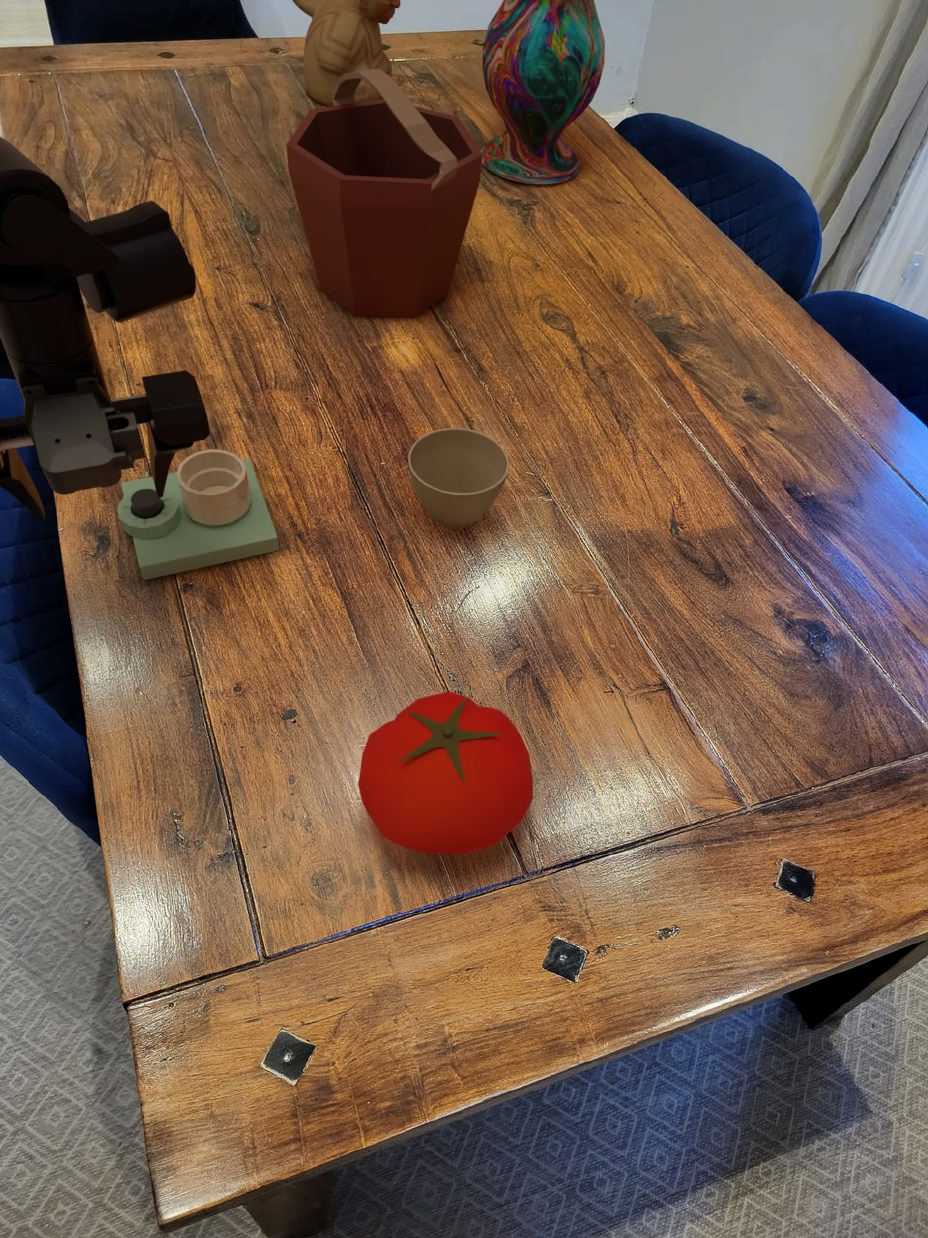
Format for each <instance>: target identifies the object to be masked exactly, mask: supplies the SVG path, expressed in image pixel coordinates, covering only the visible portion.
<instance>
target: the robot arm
mask: <svg viewBox="0 0 928 1238" xmlns="http://www.w3.org/2000/svg"><path fill="white" fill-rule="evenodd" d="M196 291H197V279H196V272H195V269H194V267H193V265H192V264H191V263H190V261H189V258H188V255H187V252H186V251H185V248H184V246H183V244H182V242H181V239H180V238H179V237H178V235H177V233H176V231H175V230H174V229H173V228H172V223H171V217H170V213H169V212H168V211H167V210H166V209H164V208H163V207H162V206H161V205H159V204H158V203H156V202H155V201H154V200H147V201H145V202H141V203H138V204H135V205H134V206H132V207H130V208H129V209H125V210H123V211H120V212H117V213H113V214H109V215H106V216H103V217H98V218H95V219H92V220H91V219H90V220H89V221H85V220H84V219H83V218H81V216H79V214H77V213H76V212H75V211H73V209H71V208H70V206H69V200H68V199H67V197H66V195H65V193H64V192H63V189H62V188H61V187H60V186H59V185H58V183H56V181H54V180H53V179H52V178H51V177H50V175H48V174H47V173H46V172H45V171H43V170H42V169H41V168H40V167H38V166H37V164H35V163H34V162H33V161H32V160H31V159H30V158H28V157H27V156H26V155H25V154H24V153H23V152H21V151H20V150H19V149H18V148H17V147H15V146H14V145H13V144H12V143H11V142H9V141H8V140H6V139H5V138H4V137H2V136H0V340H1V342H2V346H3V348H4V351H5V354H6V357H7V360H8V361H9V364H10V367H11V369H12V372H13V375H14V377H15V380H16V383H17V385H18V388H19V391H20V394H21V396H22V399H23V409H22V414H23V415H18V416H17V415H16V416H12V417H6V418H1V419H0V488H1V489H3V490H4V491H6V492H7V493H9V494H10V495H11V496H12V497H13V498H15V499H16V500H17V501H18V502H19V503H20V504H21V505H22V506H23V507H24V508H26V509H27V510H28V512H30V513H31V514H32V515H34V516H35V517H36V518H37V519H38V520H39V521H46V519H47V518H46V513H45V508H44V506H43V503H42V499H41V497H40V494H39V492H38V490H37V488H36V486H35V484H34V482H33V479H32V477H31V476H30V474H29V472H28V470H27V468H26V466H25V464H24V462H23V460H22V457H21V456H20V454H19V452H18V448H23V447H24V448H25V447H28V446H29V447H31V446H35V448H36V453H37V459H38V463H39V466H40V468H41V470H42V472H43V474H44V476H45V479H46V480H47V482H48V484H49V487H50V488H51V490H52V491H53V492H54V493H56V494H58V495H63V496H64V495H66V496H67V495H72V494H75V493H76V492H79V491H80V492H81V491H86V490H90V489H96V488H103V489H105V488H109V487H113V486H116V485H117V484H118V483H119V482H120V481H121V479H122V476H123V475H122V474H123V473H122V471H124V470H129V469H135V461H137V460H142V459H145V458H146V453H145V450H144V449H145V448H144V445H143V442H142V437H141V434H140V430H139V426H138V425H141V424H145V426H146V434H147V443H148V452H149V453H148V454H149V461H150V471H151V477H153V481H154V485H155V489H156V493H157V497H158V498H161V497H163V494H164V490H165V485H166V481H167V477H168V474H169V473H170V468H171V465H172V463H173V461H174V457H175V455H176V454H177V453H178V452H180V451H183V450H188V449H191V448H192V447H193V446H194V443H195V442H200V441H206V439H207V438H208V437H210V435H211V431H210V425H209V418H208V414H207V410H206V407H205V403H204V400H203V398H202V395H201V391H200V388H199V385H198V383H197V380H196V377H195V376H194V375H193V374H192V373H190V372H189V371H187V370H179V371H178V370H177V371H174V372H173V371H172V372H165V373H158V374H152V375H146V376H145V375H144V376H141V381H142V384H143V389H144V393H143V394H142V393H141V394H135V395H131V396H130V395H129V396H124V397H117V398H111V396H110V392H109V388H108V386H107V382H106V379H105V375H104V371H103V367H102V364H101V363H102V362H101V361H100V356H99V353H98V349H97V346H96V341H95V338H94V335H93V331H92V327H91V324H90V321H89V316H88V314H87V310H86V306H85V303H84V300H85V301H86V302H87V304H88V306H89V307H90V308H91V309H92V310H93V311H94V312H95V313H98V314H101V313H102V314H103V313H104V312H106V314H107V315H108V316H109V317H110V318H111V319H112V320H113V321H115V322H116V323H121V324H122V323H124V322H127V321H129V320H133V319H136V318H139V317H142V316H145V315H147V314H150V313H153V312H156V311H159V310H162V309H165V308H167V307H171V306H173V305H177V304H179V303H182V302H185V301H188V300H191V299H192V298H193V297H195V295H196ZM83 298H84V299H83Z"/></svg>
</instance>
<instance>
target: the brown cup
mask: <svg viewBox="0 0 928 1238" xmlns="http://www.w3.org/2000/svg"><path fill="white" fill-rule="evenodd" d="M407 456H408V457H407V462H408V464H407V465H408V470H409V471H408V472H409V475H410V480H411V482H412V483H411V484H412V486H413V489H414V492H415V494H416V496H417V499H418V500H419V503H420V504H421V506H422V508H423V509H424V510H425V512H426V513H427V514H428V516H429V517H430V518H431V519H432V520H433V521H434V522H435V523H436V524H437V525H439V526H441V527H444V528H447V529H454V530H456V529H459V530H460V529H465V528H468V527H470V526H471V525H473V524H474V523H476V522H477V521H479V520H480V518H482V517H483V516H484V515H485V514H486V513H487V512H488V510H489V509H490V508H491V507H492V505H493V504H494V503H495V501H496V499H497V498H498V496H499V495H500V493H501V491H502V489H503V488H504V485H505V482H506V480H507V477H508V474H509V470H510V459H509V458H510V457H509V455H508V454H507V452H506V450H505V448H504V447H503V446H502V445H501V444H500V443H499V442H498V441H497V440H495V439H494V438H492V437H491V436H489V435H487V434H485V433H483V432H480V431H477V430H473V429H471V428H470V429H469V428H463V427H446V428H445V427H444V428H440V429H435V430H432V431H430V432H428V433H425V434H423V435H421V437H419V438H418V439H417V440H416V441H414V443H413V444H412V445H411V447H410V449H409V451H408V455H407Z"/></svg>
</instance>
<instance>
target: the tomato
mask: <svg viewBox="0 0 928 1238" xmlns="http://www.w3.org/2000/svg"><path fill="white" fill-rule="evenodd" d="M532 770H533V769H532V764H531V756H530V753H529V751H528V748H527V746H526V743H525V741H524V739H523V737H522V734H521V733H520V731H519V730H518V729H517V726H515V724H514V723H513V722H512V720H511V718H510V717H509V716H507V715H506V714H505V713H504V712H503V711H502V710H501V709H497V708H495V707H488V706H482V705H481V706H480V705H478V704H477V703H476V702H475V701H474V700H473V699H471V698H470V697H468V696H466V695H462V694H459V693H456V692H452V691H450V690H449V691H444V692H441V693H436V694H432V695H428V696H424V697H419V698H416V699H415V700H414V701H413V702H411V704H409V705H407V707H405V708H404V709H403V710H401V711H400V712H399V713H398V714H396V716H395V718H394V719H393V720H390V721H388V722H385V723H384V724H382V725H381V726H379V727H378V728H377V729H376V730H373V732H371V733H370V734H368V738H367V740H366V743H365V746H364V748H363V751H362V754H361V760H360V770H359V775H358V782H357V787H358V790H359V793H360V798H361V802H362V805H363V808H364V809H365V811H366V813H367V815H368V816H369V818H370V820H371V821H372V823H373V824H374V826H375V828H376V829H377V830H378V832H379V833H380V835H381V836H382V837H383V838H385V839H386V840H388V841H390V842H391V843H393V844H395V845H398V846H400V847H403V848H404V849H405V848H406V849H408V850H412V851H415V852H419V853H420V854H433V855H435V854H437V855H438V854H439V855H465V854H468V853H472V852H475V851H479V850H481V849H485V848H489V847H492V846H495V845H497V843H499V842H500V841H501V840H502V839H503V838H504V837H506V836H507V835H508V834H509V833H510V832H512V831H513V830H514V829H515V828H516V827H517V826H519V825H520V824H521V823H522V821H523V820H524V818H525V817H526V816H527V813H528V811H529V808H530V806H531V804H532V802H533V799H534V778H533V771H532Z"/></svg>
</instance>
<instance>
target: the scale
mask: <svg viewBox="0 0 928 1238" xmlns="http://www.w3.org/2000/svg"><path fill="white" fill-rule="evenodd" d="M242 460H243V461H244V464H245V467H246V470H247V477H248V483H249V490H250V496H251V502H250V506H249V509H248V510H247V511H246V512H245V514H244V515H243V516H241V517H240V518H238V519H237V520H235V521H233V522H231V523H228V524H225V525H217V526H214V525H205V524H202V523H200V522H197V521H194V520H193V519H192V518H191V517H190V516H189V515H188V514H187V513H186V512H185V509H184V505H183V501H182V497H181V493H180V489H179V485H178V480H177V476H176V473H177V471H174V472H168V477H167V481H166V485H165V490H164V494H163V497H161V498H160V500H161V504H162V511H161V513H160V514H159V515H158V516H156V517H154V518H149V519H142V518H139V517H137V516H136V515H135V513H134V510H133V506H132V503H131V497H132V495H133V494H134V493H135V492H136V491H138V490H141V489H152V490H155V491H156V489H155V485H154V481H153V477H152V476H148V477H143V478H142V477H141V478H138V479H133V480H128V481H127V480H126V481H121V482H120V485H121V490H122V494H123V497H121V498H122V499H121V500H120V502H119V503H118V505H117V507H116V510H117V515H118V519H119V523H120V526H121V529H122V530H123V531H124V532H125V533H127V535H129V536H131V537H132V540H133V544H134V550H135V553H136V558H137V563H138V567H139V570H140V573H141V576H142V580H143V581H148V580H152V579H157V578H161V577H166V576H170V575H174V574H179V573H183V572H188V571H193V570H197V569H201V568H202V569H203V568H206V567H210V566H214V565H215V566H216V565H219V564H223V563H229V562H233V561H238V560H242V559H245V558H246V559H247V558H251V557H255V556H260V555H265V554H269V553H273V552H278V551H280V544H279V536H278V534H277V531H276V529H275V525H274V523H273V520H272V517H271V514H270V510H269V508H268V505H267V503H266V500H265V498H264V495H263V492H262V488H261V486H260V483H259V481H258V478H257V475H256V471H255V469H254V466H253V463H252V461H251V458H243V459H242Z"/></svg>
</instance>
